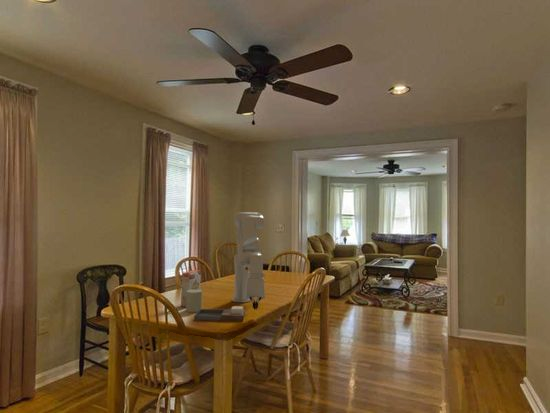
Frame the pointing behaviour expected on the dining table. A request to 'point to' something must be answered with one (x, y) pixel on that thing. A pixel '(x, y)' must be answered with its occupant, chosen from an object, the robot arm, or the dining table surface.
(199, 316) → the box
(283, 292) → the dining table surface
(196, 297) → the can
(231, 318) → the brown sliding lid
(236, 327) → the dining table surface
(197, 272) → the cracker box
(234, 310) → the tile
